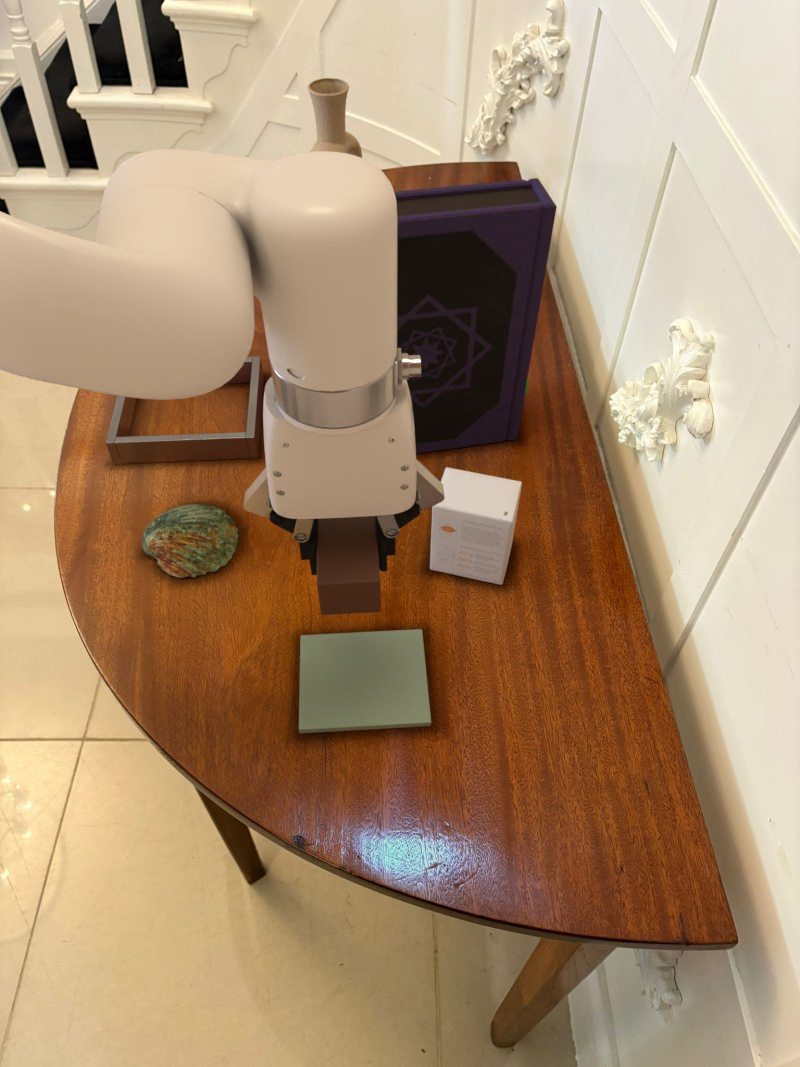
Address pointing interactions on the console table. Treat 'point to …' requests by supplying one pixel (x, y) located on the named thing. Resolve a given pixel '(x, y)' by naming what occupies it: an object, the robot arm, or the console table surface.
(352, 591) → the brown rectangular block
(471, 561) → the small box
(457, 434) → the book
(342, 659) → the mat
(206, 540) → the seashell
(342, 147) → the vase
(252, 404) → the rectangular frame
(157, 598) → the console table surface
